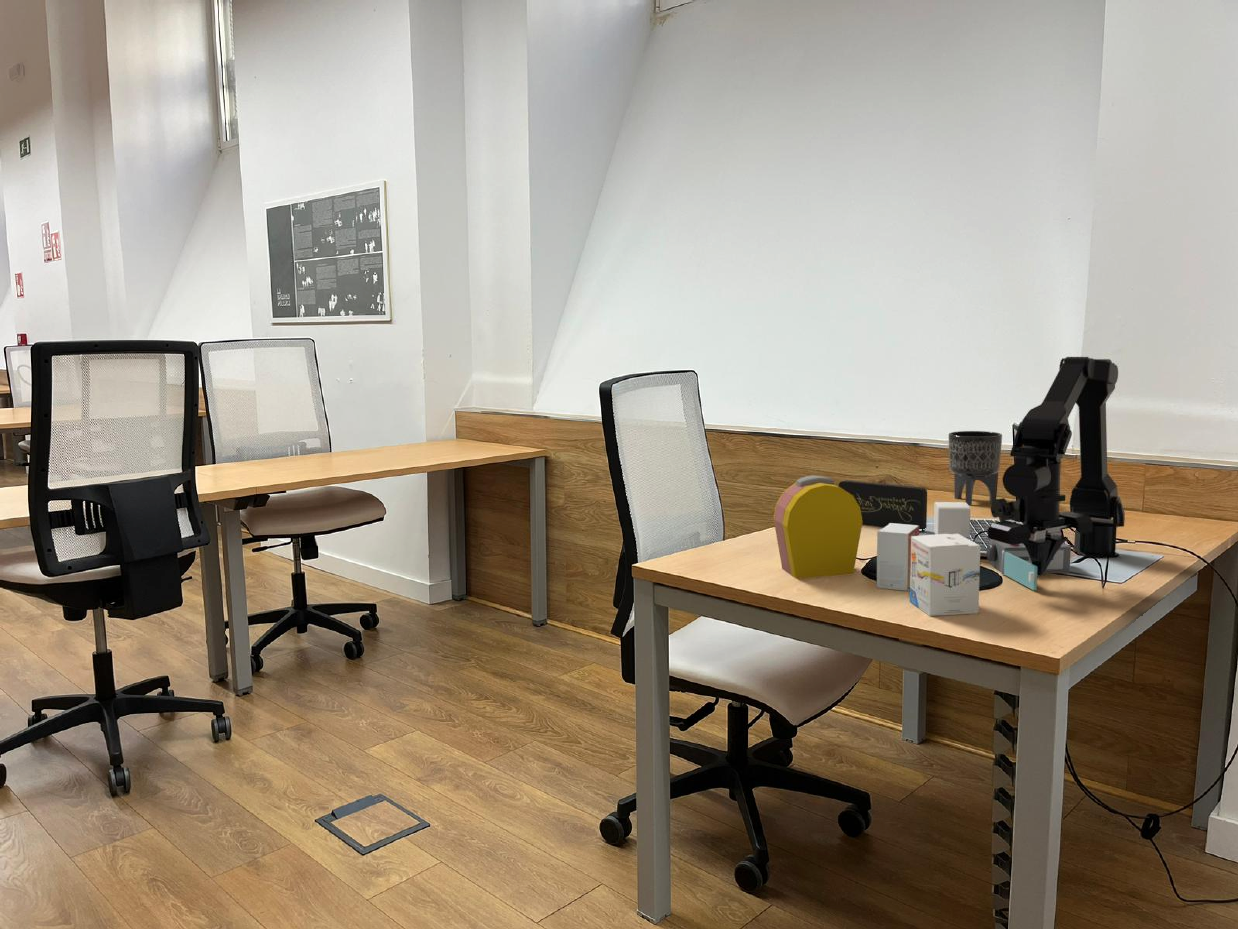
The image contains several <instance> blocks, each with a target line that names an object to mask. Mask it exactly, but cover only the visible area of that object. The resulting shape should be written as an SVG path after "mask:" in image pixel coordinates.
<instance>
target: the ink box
mask: <svg viewBox="0 0 1238 929" xmlns="http://www.w3.org/2000/svg"><path fill="white" fill-rule="evenodd" d="M980 569H981V545H980V544H978V543H976V542H974V541H972V540H970V538H966V537H963V536H962V535H960V534H935V533H934V534H924V535H923V534H922V535H919V536H912V537H911V575H910V588H909V602H910V603H911V604H912V605H914V606H915V607H916V608H917V609H919V610H920V611H922V612H924V613H925V614H926V615H928V616H929V617H936V616H938V617H939V616H956V615H958V616H959V615H971V614H972V615H973V614H975V615H976V614H979V604H980V601H979V600H980V574H981V573H980Z"/></svg>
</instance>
